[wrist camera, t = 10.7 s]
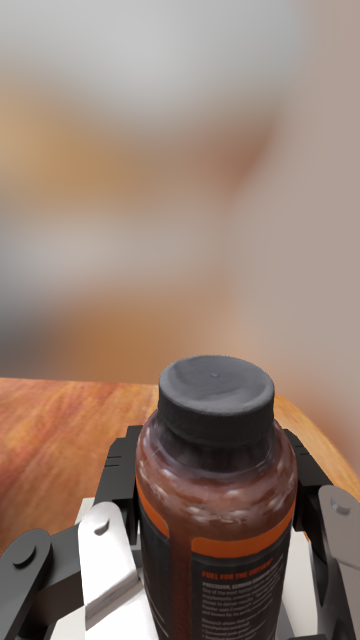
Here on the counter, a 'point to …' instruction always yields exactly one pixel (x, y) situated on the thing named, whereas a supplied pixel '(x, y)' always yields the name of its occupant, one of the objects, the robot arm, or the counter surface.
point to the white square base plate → (295, 602)
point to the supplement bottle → (215, 502)
